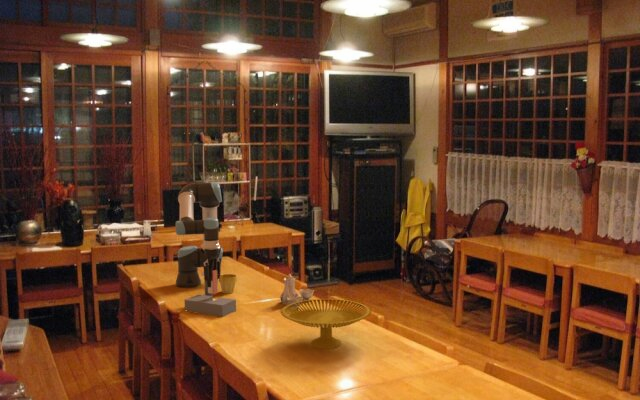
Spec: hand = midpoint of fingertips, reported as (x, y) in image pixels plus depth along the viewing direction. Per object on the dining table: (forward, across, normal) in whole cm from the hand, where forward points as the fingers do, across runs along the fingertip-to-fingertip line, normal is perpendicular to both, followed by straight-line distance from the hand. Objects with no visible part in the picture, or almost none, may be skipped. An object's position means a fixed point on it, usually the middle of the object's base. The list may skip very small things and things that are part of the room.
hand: (212, 292), depth 343 cm
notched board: (+10, -2, 0) cm, 10 cm away
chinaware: (+10, +30, -32) cm, 45 cm away
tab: (+1, 0, 0) cm, 1 cm away
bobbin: (+9, +10, +10) cm, 17 cm away
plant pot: (+10, +34, +14) cm, 38 cm away
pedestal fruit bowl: (+10, -21, -77) cm, 80 cm away
